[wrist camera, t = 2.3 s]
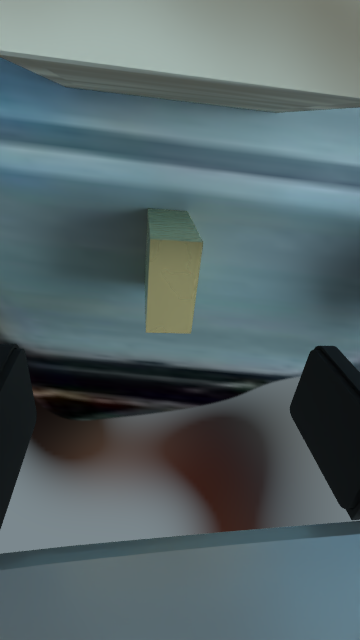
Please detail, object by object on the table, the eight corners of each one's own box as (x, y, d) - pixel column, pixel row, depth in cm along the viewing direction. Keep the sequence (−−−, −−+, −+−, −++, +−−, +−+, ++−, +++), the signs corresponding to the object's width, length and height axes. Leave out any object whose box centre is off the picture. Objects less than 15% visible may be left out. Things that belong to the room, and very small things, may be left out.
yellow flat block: (179, 285, 22) (191, 333, 17) (144, 283, 22) (145, 332, 17) (187, 211, 20) (203, 242, 15) (147, 208, 19) (150, 239, 14)
